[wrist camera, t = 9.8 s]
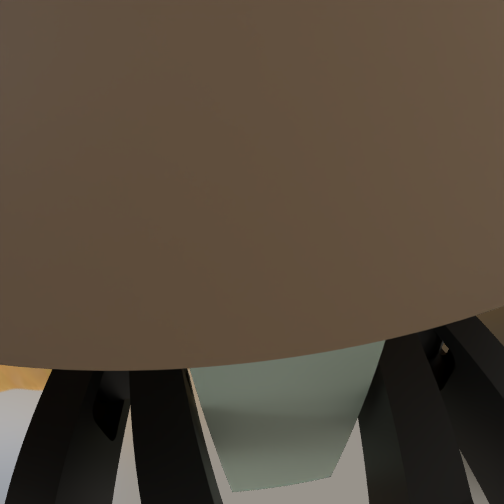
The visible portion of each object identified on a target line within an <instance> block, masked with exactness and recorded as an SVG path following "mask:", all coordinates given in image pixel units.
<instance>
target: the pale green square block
mask: <svg viewBox="0 0 504 504" xmlns="http://www.w3.org/2000/svg"><path fill="white" fill-rule="evenodd" d="M384 343H385V340H383V341H378V342H374V343H369V344H364V345H360V346H355V347H350V348H344V349H339V350H334V351H328V352H322V353H316V354H310V355H304V356H297V357H291V358H284V359H276V360H269V361H261V362H252V363H243V364H234V365H223V366H212V367H199V368H190V371H191V374H192V377H193V381H194V384H195V388H196V391H197V394H198V397H199V401H200V404H201V407H202V410H203V413H204V416H205V419H206V422H207V425H208V428H209V431H210V434H211V436H212V439H213V442H214V445H215V448H216V451H217V453H218V456H219V459H220V462H221V464H222V467H223V470H224V472H225V475H226V477H227V480H228V482H229V485H230V488H231V490H232V492H239V491H249V490H259V489H267V488H274V487H281V486H287V485H293V484H299V483H304V482H309V481H314V480H319V479H323V478H327V477H331V475H332V473H333V471H334V469H335V467H336V465H337V463H338V461H339V459H340V456H341V454H342V452H343V450H344V448H345V446H346V443H347V441H348V439H349V437H350V434H351V432H352V430H353V428H354V425H355V423H356V420H357V418H358V416H359V413H360V411H361V408H362V406H363V403H364V400H365V398H366V395H367V393H368V390H369V387H370V384H371V382H372V379H373V376H374V373H375V370H376V368H377V365H378V362H379V359H380V356H381V353H382V349H383V346H384Z"/></svg>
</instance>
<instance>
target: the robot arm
mask: <svg viewBox="0 0 504 504" xmlns="http://www.w3.org/2000/svg"><path fill="white" fill-rule="evenodd" d="M443 343H445V345H446V346H447V347H448V348H449V350H448V352H447V353H445V352H444V351H443V350H442V345H443ZM130 405H131V420H132V432H133V444H134V453H135V462H136V471H137V478H138V486H139V492H140V499H141V504H223V502H222V499H221V496H220V493H219V489H218V486H217V483H216V479H215V476H214V472H213V469H212V465H211V462H210V458H209V454H208V451H207V447H206V443H205V440H204V436H203V432H202V428H201V424H200V420H199V416H198V411H197V407H196V403H195V399H194V394H193V390H192V385H191V381H190V376H189V373H188V370H187V368H184V369H165V370H133V371H93V370H62V369H52V371H51V374H50V376H49V378H48V380H47V383H46V385H45V387H44V390H43V392H42V395H41V397H40V399H39V402H38V404H37V407H36V409H35V412H34V414H33V417H32V419H31V422H30V425H29V427H28V430H27V433H26V435H25V438H24V441H23V444H22V447H21V450H20V453H19V456H18V459H17V462H16V465H15V469H14V472H13V475H12V478H11V482H10V485H9V489H8V493H7V497H6V500H5V504H112V500H113V493H114V487H115V481H116V475H117V469H118V463H119V458H120V453H121V447H122V442H123V437H124V432H125V427H126V422H127V418H128V413H129V409H130ZM358 420H359V427H360V433H361V439H362V447H363V454H364V461H365V470H366V478H367V486H368V496H369V504H474V503H473V500H472V497H471V493H470V488H469V484H468V480H467V476H466V472H465V468H464V465H463V461H462V458H461V454H460V451H461V452H462V454H463V456H464V458H465V459H466V461H467V463H468V465H469V466H470V468H471V470H472V472H473V474H474V476H475V477H476V479H477V481H478V483H479V484H480V487H481V488H482V490H483V492H484V494H485V496H486V498H487V500H488V502H489V504H504V346H503V345H502V344H501V343H500V342H499V341H498V339H497V338H496V337H495V336H494V335H493V334H492V333H491V332H490V331H489V329H488V328H487V327H486V326H485V325H484V324H483V323H482V322H481V321H480V320H479V319H478V318H477V317H476V316H473V317H469V318H466V319H463V320H460V321H456V322H453V323H449V324H446V325H442V326H439V327H435V328H432V329H428V330H424V331H420V332H416V333H412V334H408V335H404V336H400V337H396V338H392V339H387V340H385V343H384V346H383V349H382V353H381V356H380V359H379V362H378V365H377V368H376V370H375V373H374V376H373V379H372V382H371V384H370V387H369V390H368V393H367V395H366V398H365V400H364V403H363V406H362V408H361V411H360V413H359V416H358ZM459 449H460V451H459Z"/></svg>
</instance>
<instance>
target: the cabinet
mask: <svg viewBox="0 0 504 504" xmlns="http://www.w3.org/2000/svg"><path fill="white" fill-rule="evenodd" d="M503 306H504V0H0V365H8V366H18V367H30V368H44V369H62V370H93V371H133V370H165V369H184V368H199V367H212V366H223V365H234V364H243V363H252V362H261V361H269V360H276V359H284V358H291V357H297V356H304V355H310V354H316V353H322V352H328V351H334V350H339V349H344V348H350V347H355V346H360V345H364V344H369V343H374V342H378V341H383V340H387V339H392V338H396V337H400V336H404V335H408V334H412V333H416V332H420V331H424V330H428V329H432V328H435V327H439V326H442V325H446V324H449V323H453V322H456V321H460V320H463V319H466V318H469V317H473V316H476V315H479V314H482V313H485V312H488V311H491V310H494V309H497V308H500V307H503Z"/></svg>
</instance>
